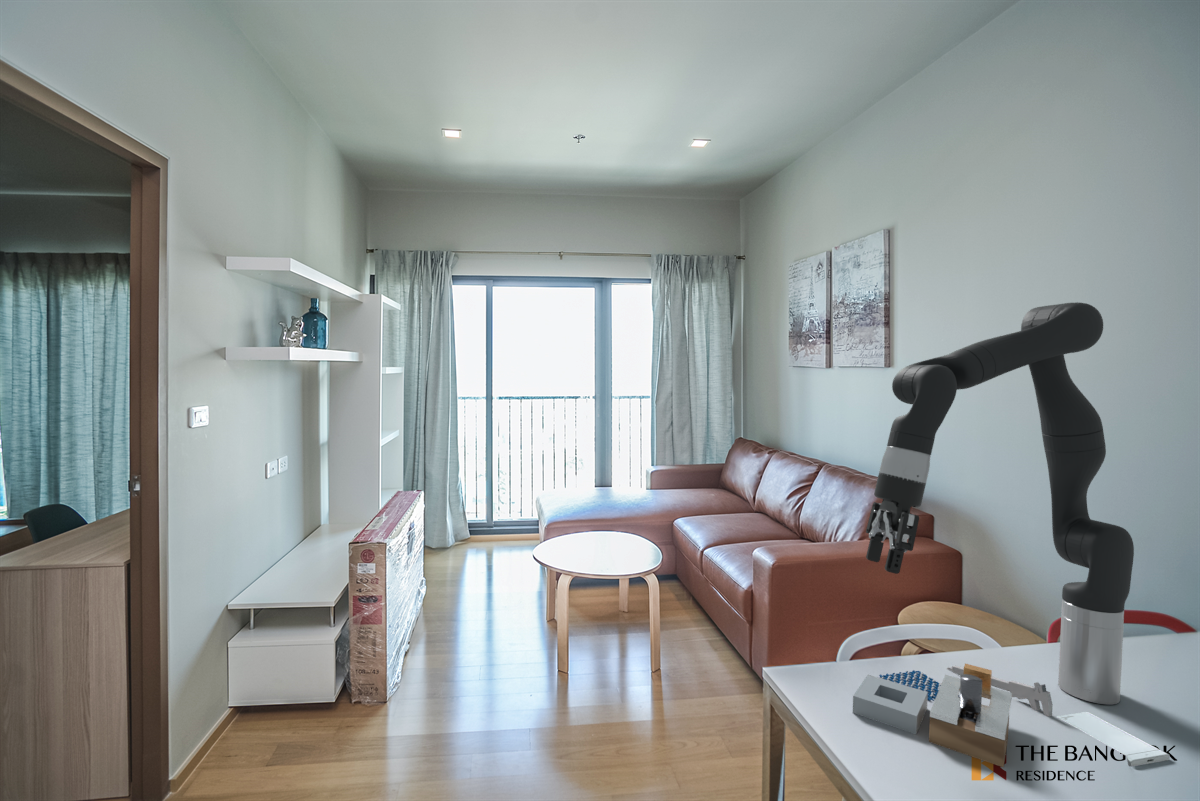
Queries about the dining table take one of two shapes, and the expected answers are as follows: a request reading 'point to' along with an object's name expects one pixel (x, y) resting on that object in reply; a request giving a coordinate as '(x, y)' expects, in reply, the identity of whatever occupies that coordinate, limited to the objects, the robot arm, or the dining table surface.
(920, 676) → the woven mat
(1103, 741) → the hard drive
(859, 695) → the block
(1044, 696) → the caliper
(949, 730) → the socket block
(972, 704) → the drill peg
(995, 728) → the plate
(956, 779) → the dining table surface
